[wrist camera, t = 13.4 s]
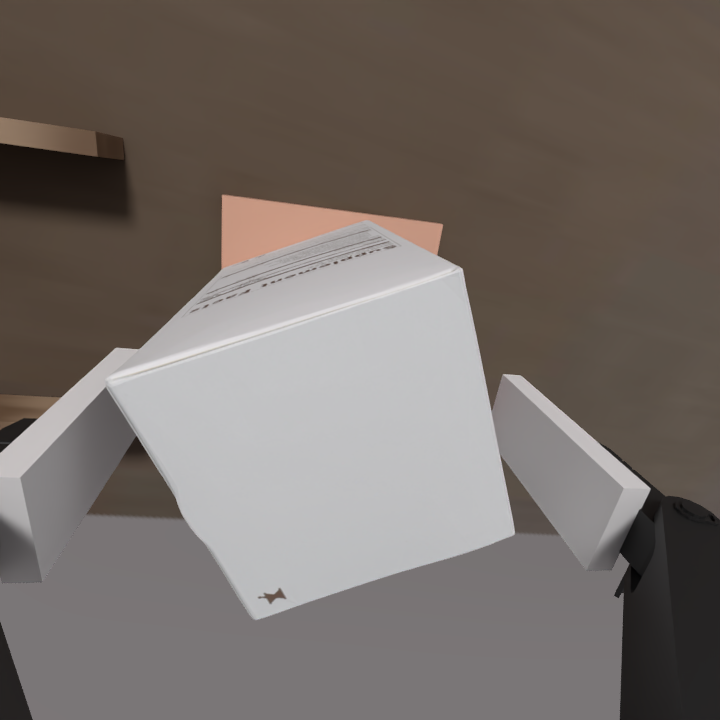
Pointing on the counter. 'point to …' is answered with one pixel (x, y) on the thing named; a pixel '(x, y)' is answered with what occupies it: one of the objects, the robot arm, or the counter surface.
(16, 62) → the counter surface
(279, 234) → the terracotta tile
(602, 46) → the counter surface
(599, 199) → the counter surface
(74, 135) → the wooden u-shaped frame
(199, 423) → the supplement box
